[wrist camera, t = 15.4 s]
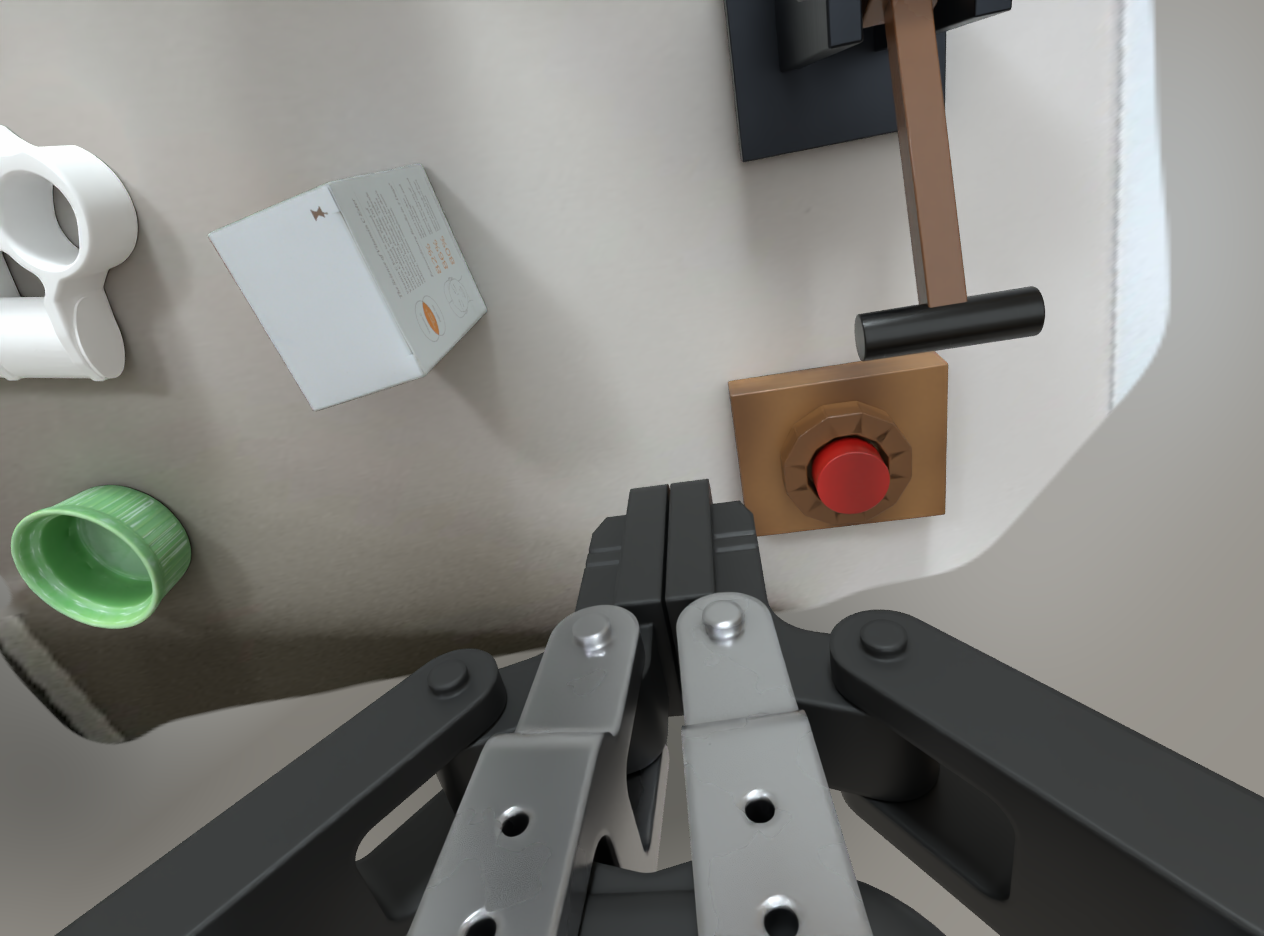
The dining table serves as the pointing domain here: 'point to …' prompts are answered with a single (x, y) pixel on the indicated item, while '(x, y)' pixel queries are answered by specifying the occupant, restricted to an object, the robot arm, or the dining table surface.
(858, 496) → the button
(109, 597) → the ramekin
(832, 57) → the bracket
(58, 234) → the white brass knuckles
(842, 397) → the button block
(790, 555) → the dining table surface
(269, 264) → the small box
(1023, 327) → the lever
